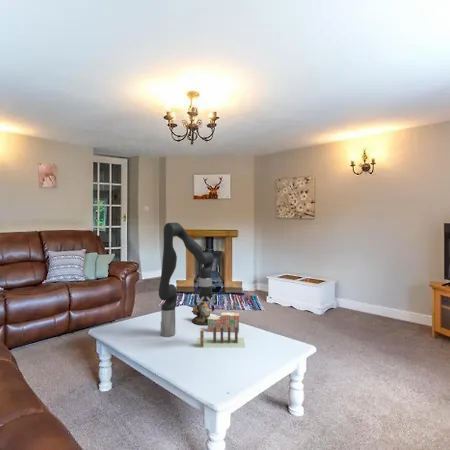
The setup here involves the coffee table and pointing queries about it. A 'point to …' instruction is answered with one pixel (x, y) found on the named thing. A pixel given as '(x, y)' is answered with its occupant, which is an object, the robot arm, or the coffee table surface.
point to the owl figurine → (201, 314)
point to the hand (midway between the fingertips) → (205, 311)
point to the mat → (209, 343)
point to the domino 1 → (201, 337)
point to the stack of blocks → (224, 322)
